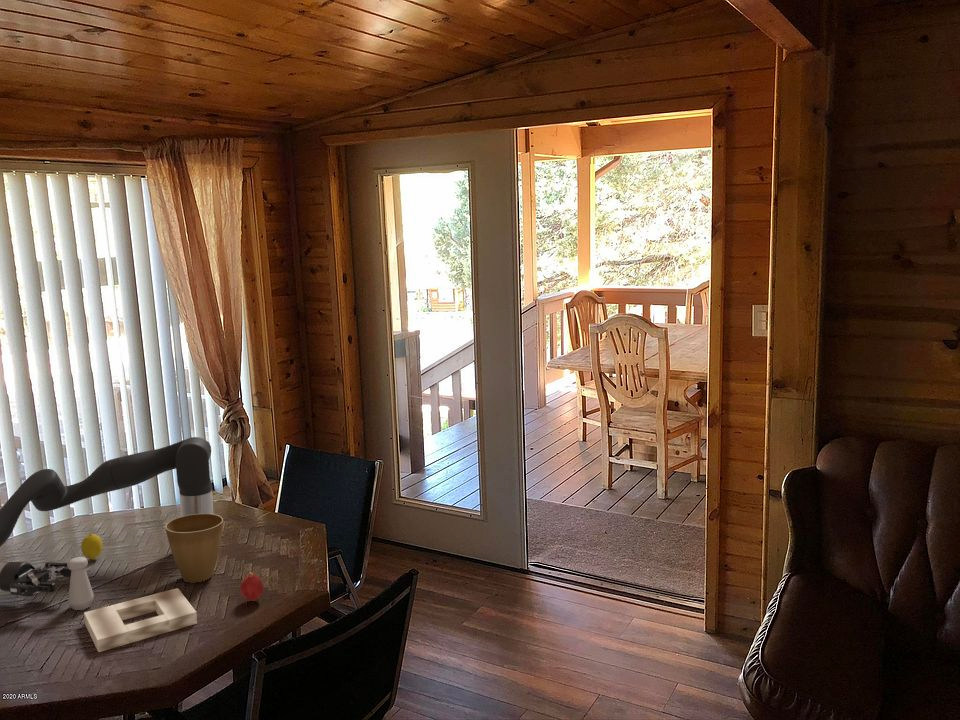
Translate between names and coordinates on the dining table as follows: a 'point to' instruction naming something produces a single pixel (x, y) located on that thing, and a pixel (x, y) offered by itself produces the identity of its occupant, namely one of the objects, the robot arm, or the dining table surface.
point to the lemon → (91, 546)
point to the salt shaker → (79, 585)
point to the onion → (252, 587)
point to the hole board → (114, 633)
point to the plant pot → (195, 544)
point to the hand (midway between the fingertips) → (66, 580)
